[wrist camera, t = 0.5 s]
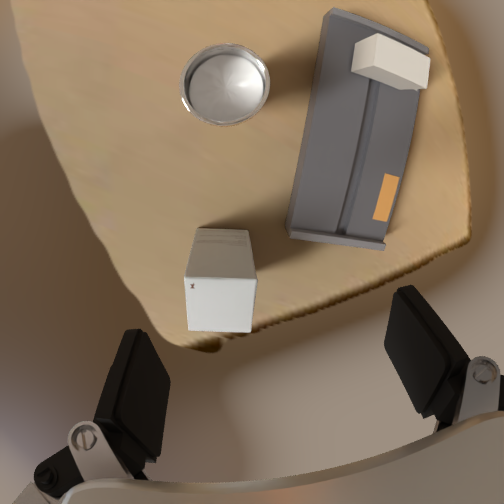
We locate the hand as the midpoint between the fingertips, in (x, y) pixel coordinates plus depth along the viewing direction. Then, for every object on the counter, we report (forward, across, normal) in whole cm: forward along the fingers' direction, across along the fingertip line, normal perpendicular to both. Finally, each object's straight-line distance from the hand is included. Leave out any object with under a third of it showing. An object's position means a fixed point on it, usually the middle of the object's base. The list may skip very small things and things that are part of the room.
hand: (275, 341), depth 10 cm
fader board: (+29, -15, -4) cm, 33 cm away
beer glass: (+29, 0, -10) cm, 31 cm away
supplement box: (+29, +5, +11) cm, 31 cm away
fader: (+27, -18, -13) cm, 35 cm away
